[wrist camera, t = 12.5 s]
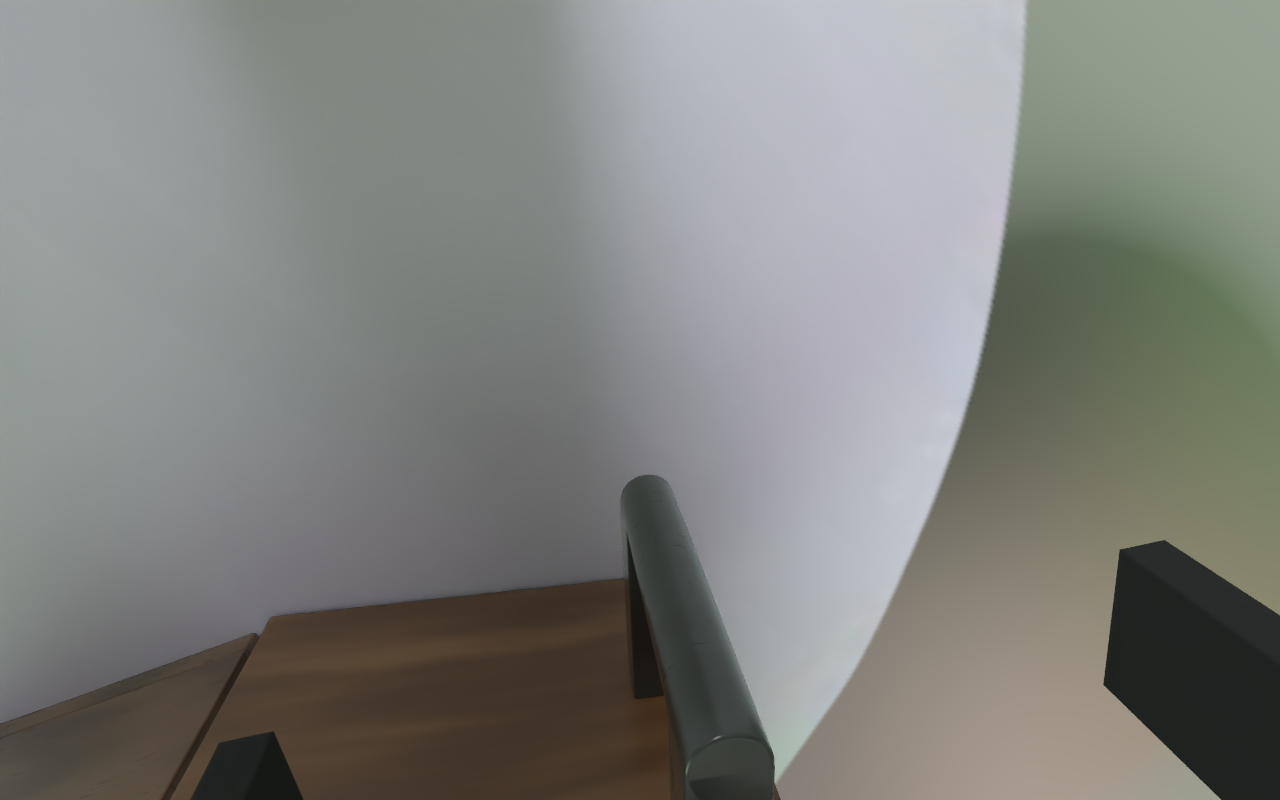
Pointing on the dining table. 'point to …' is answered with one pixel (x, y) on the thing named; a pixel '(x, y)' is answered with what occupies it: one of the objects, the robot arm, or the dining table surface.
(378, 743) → the cupboard door
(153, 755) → the cupboard
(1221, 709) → the robot arm
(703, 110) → the dining table surface
